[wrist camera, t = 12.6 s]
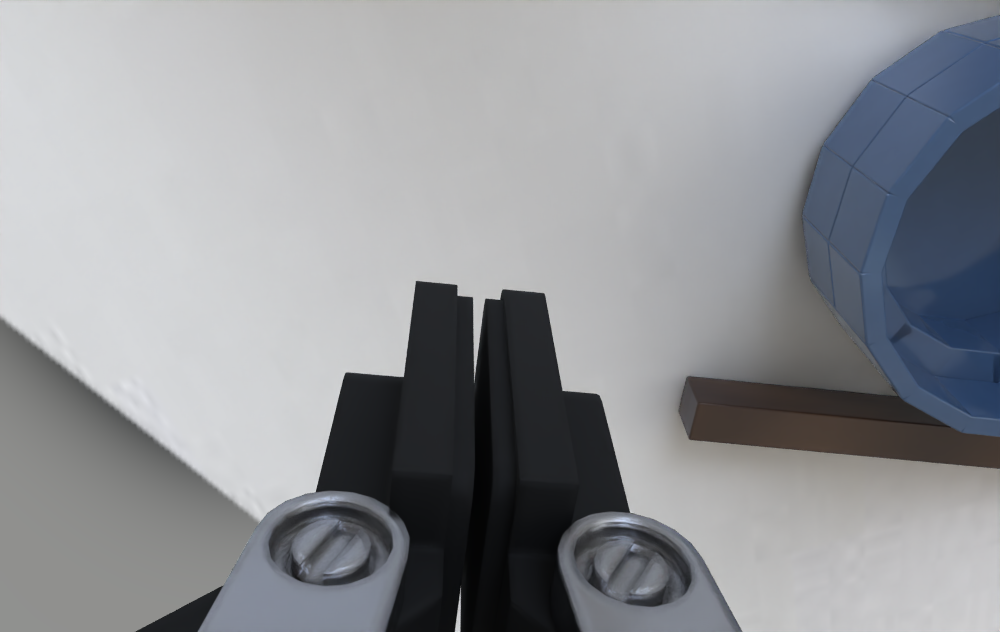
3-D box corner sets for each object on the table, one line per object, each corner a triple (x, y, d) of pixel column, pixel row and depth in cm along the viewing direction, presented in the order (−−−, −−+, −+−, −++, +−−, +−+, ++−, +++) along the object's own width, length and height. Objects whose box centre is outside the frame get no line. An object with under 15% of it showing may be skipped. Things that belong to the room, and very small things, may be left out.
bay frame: (677, 411, 31) (688, 440, 29) (820, -166, 23) (846, -170, 21) (1091, 451, 32) (1124, 481, 30) (1365, -88, 24) (1429, -87, 22)
